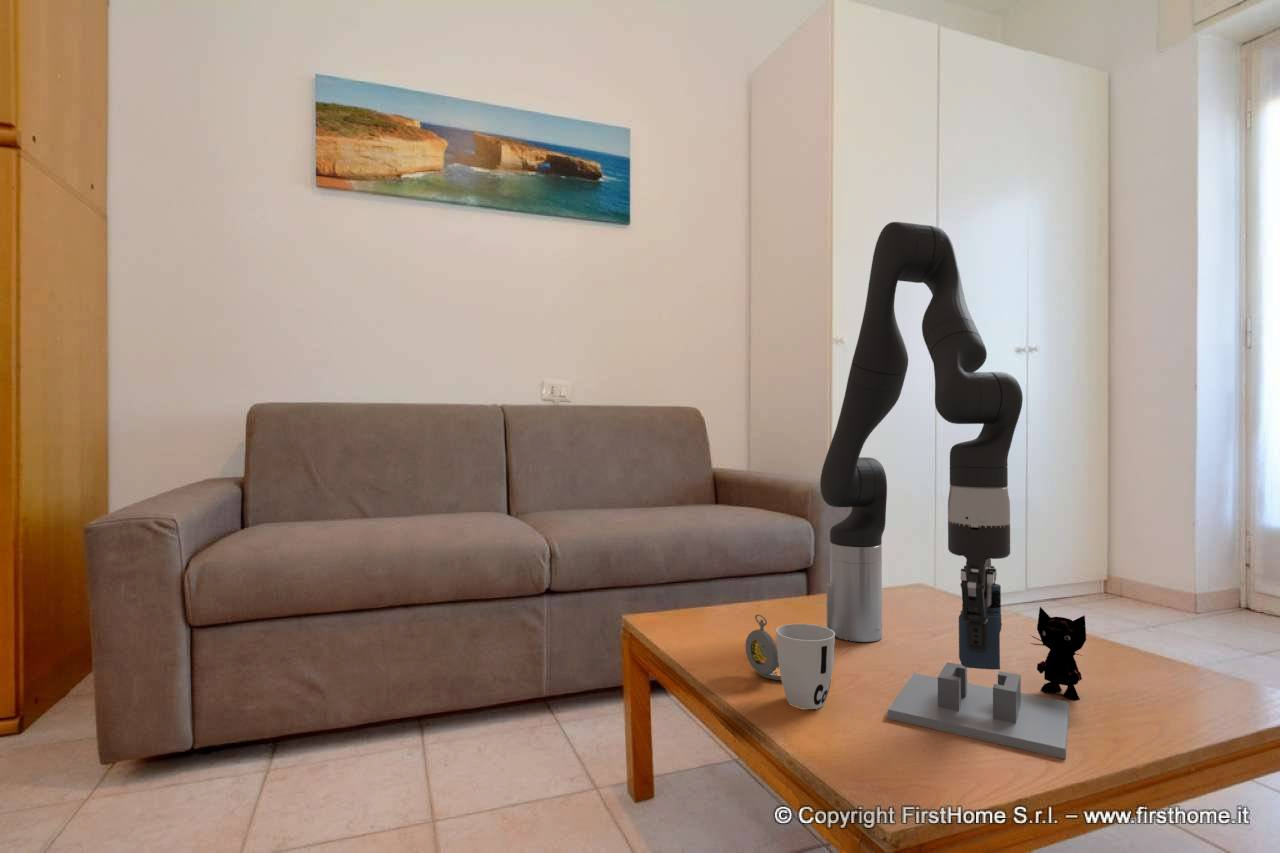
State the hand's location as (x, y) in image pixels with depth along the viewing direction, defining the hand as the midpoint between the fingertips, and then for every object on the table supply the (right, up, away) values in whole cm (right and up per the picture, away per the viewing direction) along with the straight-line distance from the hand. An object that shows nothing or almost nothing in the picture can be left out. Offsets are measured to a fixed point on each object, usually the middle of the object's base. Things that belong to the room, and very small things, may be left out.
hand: (979, 646), depth 90 cm
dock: (0, -9, 0) cm, 9 cm away
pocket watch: (-25, -10, +14) cm, 31 cm away
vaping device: (0, -3, 0) cm, 3 cm away
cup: (-22, -9, +4) cm, 25 cm away
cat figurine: (+16, -9, +7) cm, 20 cm away
